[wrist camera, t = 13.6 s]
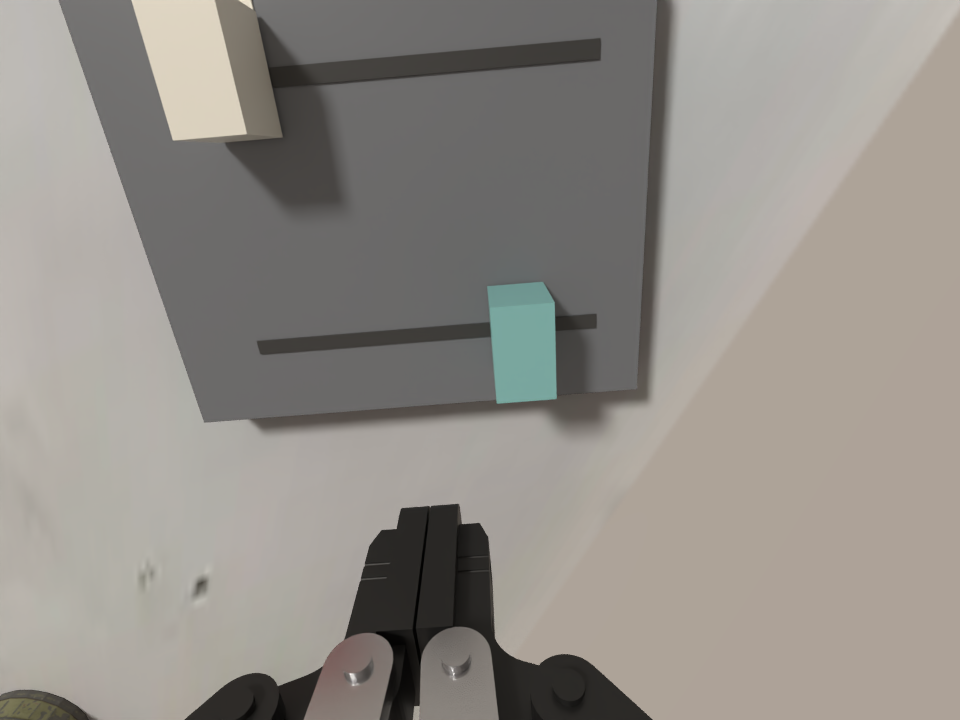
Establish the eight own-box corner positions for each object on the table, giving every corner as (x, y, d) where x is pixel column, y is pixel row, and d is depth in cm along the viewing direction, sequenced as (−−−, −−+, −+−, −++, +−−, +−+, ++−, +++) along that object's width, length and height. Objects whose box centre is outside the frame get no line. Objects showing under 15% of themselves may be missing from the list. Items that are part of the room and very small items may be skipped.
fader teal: (542, 281, 26) (554, 302, 22) (545, 366, 28) (556, 399, 24) (487, 286, 26) (489, 307, 22) (493, 370, 28) (496, 403, 24)
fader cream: (255, 11, 21) (210, -19, 17) (283, 137, 23) (246, 134, 19) (187, 18, 21) (128, -11, 18) (220, 142, 23) (173, 140, 19)
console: (638, -54, 23) (662, -84, 20) (622, 368, 32) (637, 389, 29) (99, -5, 23) (48, -27, 21) (227, 399, 32) (203, 423, 29)
